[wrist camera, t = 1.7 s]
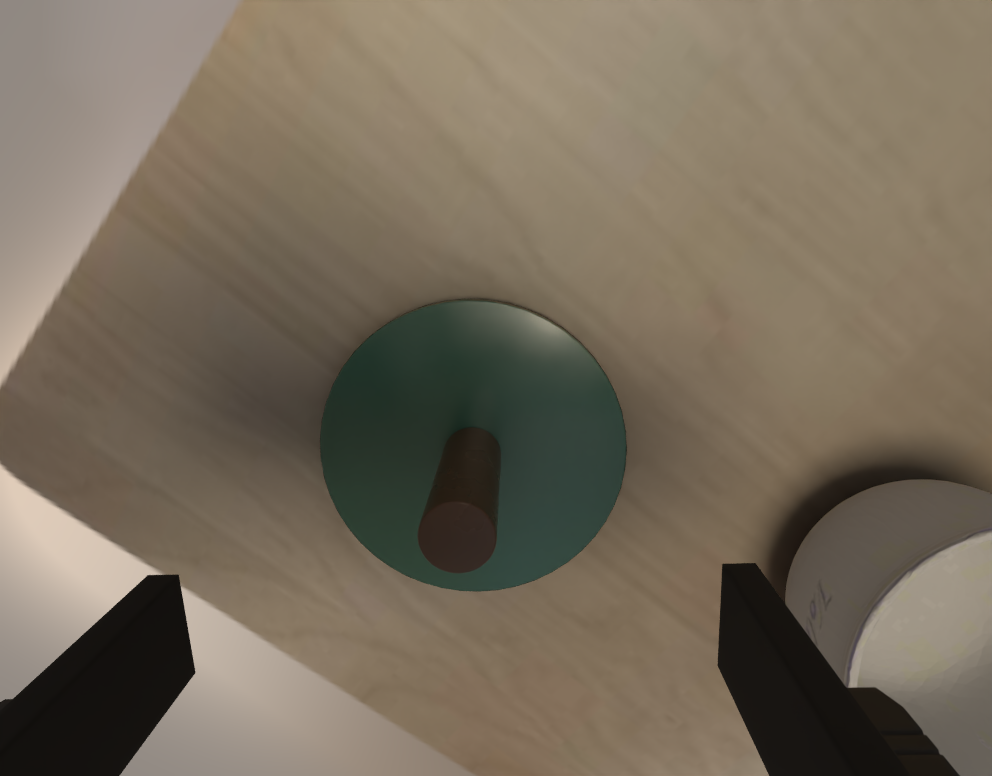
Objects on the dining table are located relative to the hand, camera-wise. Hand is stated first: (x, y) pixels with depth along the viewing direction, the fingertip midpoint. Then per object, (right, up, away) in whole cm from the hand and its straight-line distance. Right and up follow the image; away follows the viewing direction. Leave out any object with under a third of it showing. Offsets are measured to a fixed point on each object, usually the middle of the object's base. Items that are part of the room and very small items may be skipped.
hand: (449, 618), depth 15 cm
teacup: (+19, -3, +14) cm, 24 cm away
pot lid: (0, +3, +12) cm, 12 cm away
